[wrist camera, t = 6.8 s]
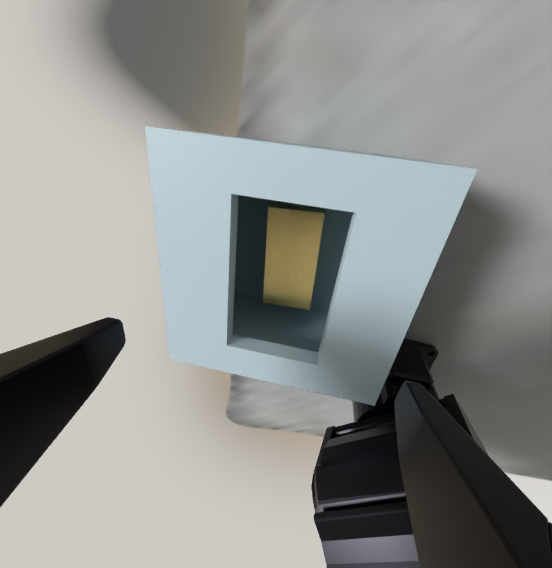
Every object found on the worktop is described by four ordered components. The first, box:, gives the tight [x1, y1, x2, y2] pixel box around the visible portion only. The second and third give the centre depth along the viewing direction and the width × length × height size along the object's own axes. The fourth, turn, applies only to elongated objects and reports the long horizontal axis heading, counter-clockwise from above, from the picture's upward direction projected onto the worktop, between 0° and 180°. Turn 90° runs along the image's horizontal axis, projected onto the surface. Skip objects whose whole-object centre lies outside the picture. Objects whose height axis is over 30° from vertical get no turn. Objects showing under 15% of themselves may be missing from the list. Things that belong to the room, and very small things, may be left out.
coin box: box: [145, 127, 477, 406], centre depth 16 cm, size 12×12×8 cm
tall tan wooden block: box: [263, 201, 325, 310], centre depth 17 cm, size 3×6×4 cm, turn 176°
